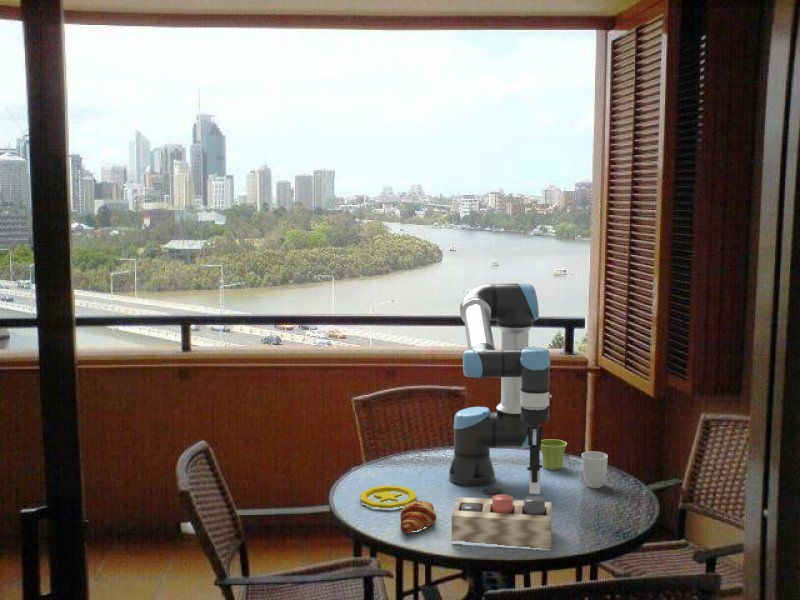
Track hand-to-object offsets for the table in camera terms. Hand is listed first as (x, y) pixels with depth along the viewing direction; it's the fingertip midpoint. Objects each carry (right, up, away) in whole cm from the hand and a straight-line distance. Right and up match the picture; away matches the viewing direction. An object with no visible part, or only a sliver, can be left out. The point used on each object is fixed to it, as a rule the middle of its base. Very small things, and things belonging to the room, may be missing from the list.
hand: (534, 492), depth 220 cm
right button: (0, -7, +1) cm, 7 cm away
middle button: (-8, -7, +2) cm, 11 cm away
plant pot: (+16, -6, +61) cm, 64 cm away
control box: (-8, -13, +3) cm, 16 cm away
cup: (+26, -8, +43) cm, 51 cm away
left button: (-17, -10, +4) cm, 20 cm away
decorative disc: (-40, -10, +32) cm, 52 cm away
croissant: (-31, -12, +13) cm, 36 cm away
